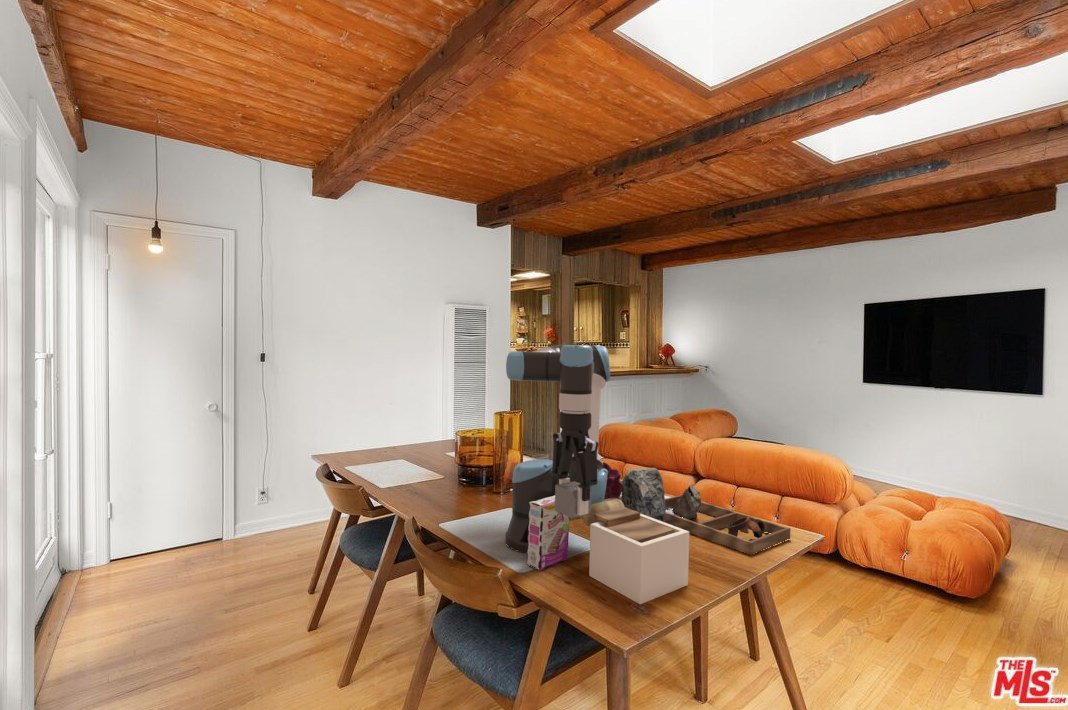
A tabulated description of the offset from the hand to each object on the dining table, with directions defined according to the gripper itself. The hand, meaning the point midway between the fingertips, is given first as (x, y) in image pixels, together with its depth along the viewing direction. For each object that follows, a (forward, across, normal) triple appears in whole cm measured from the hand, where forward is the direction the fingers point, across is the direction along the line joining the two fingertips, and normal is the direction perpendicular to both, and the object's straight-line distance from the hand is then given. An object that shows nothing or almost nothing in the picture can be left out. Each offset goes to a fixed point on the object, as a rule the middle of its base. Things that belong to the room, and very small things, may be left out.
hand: (573, 509), depth 117 cm
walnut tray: (+19, +6, -64) cm, 67 cm away
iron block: (0, 0, 0) cm, 1 cm away
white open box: (+18, -6, -16) cm, 25 cm away
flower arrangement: (+19, +49, -50) cm, 73 cm away
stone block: (+19, +14, -40) cm, 47 cm away
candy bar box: (+19, +14, -4) cm, 23 cm away
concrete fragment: (+19, +17, -65) cm, 70 cm away
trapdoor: (+8, -2, -16) cm, 17 cm away
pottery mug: (+19, -7, -62) cm, 65 cm away
